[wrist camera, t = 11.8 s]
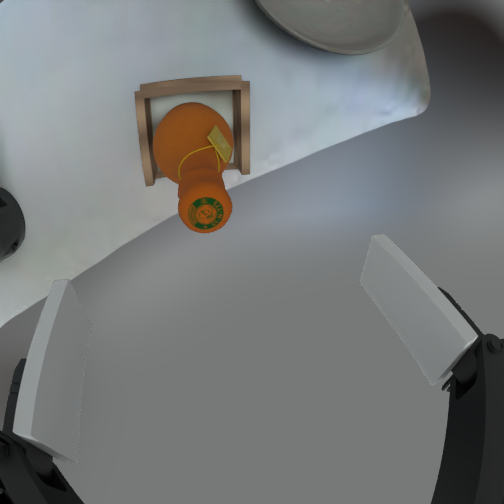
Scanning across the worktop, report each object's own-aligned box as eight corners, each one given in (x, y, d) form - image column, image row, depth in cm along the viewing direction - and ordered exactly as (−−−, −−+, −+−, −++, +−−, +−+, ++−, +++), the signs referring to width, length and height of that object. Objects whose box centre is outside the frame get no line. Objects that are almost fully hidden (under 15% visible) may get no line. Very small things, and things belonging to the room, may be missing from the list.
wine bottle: (218, 160, 44) (273, 276, 20) (158, 160, 41) (133, 283, 18) (224, 101, 39) (300, 138, 15) (160, 100, 36) (118, 133, 12)
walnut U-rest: (241, 167, 47) (250, 180, 41) (150, 177, 44) (146, 192, 38) (240, 75, 37) (250, 74, 32) (140, 84, 34) (133, 84, 29)
